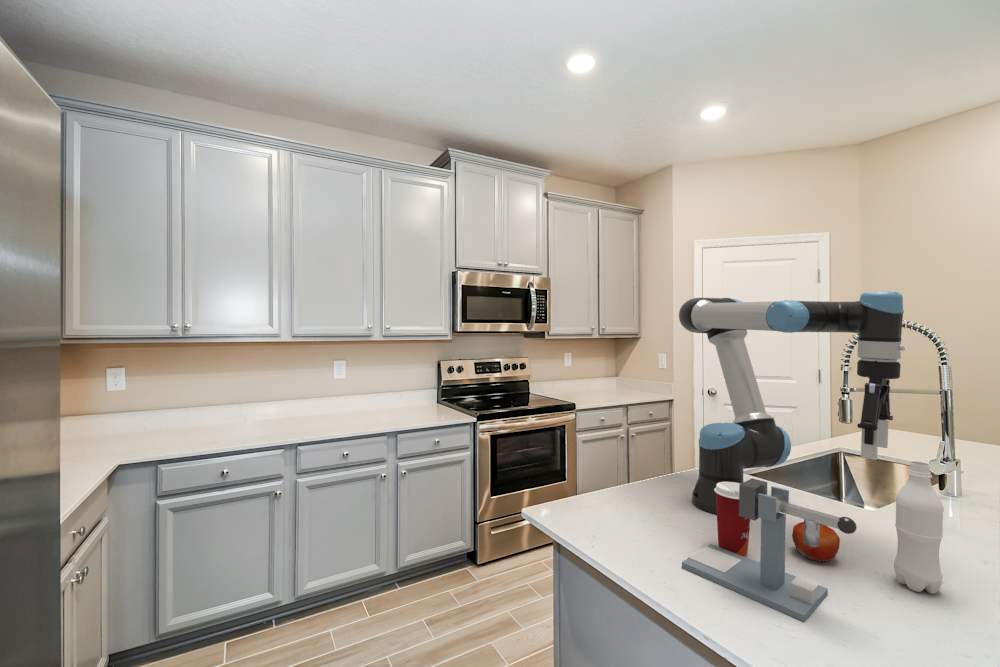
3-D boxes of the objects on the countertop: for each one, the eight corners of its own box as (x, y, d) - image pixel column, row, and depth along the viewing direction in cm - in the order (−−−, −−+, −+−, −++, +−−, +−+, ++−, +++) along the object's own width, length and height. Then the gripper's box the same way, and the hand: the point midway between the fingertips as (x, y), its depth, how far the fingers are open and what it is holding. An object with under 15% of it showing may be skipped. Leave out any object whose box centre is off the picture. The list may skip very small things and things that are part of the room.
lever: (738, 526, 92) (739, 484, 92) (751, 518, 96) (751, 478, 96) (850, 564, 78) (851, 514, 78) (860, 553, 81) (861, 505, 81)
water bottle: (884, 577, 94) (886, 458, 94) (915, 575, 95) (918, 457, 95) (918, 598, 87) (921, 469, 87) (952, 596, 88) (955, 468, 87)
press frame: (681, 567, 98) (683, 478, 98) (710, 549, 106) (711, 466, 106) (804, 622, 80) (806, 512, 80) (827, 594, 88) (829, 495, 88)
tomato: (826, 571, 97) (826, 534, 97) (782, 551, 105) (783, 517, 105) (849, 560, 101) (849, 525, 101) (805, 543, 109) (806, 510, 109)
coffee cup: (758, 561, 101) (759, 494, 100) (718, 557, 102) (719, 491, 102) (745, 543, 109) (746, 481, 109) (709, 540, 111) (710, 479, 110)
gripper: (891, 365, 91) (886, 468, 92) (908, 358, 108) (904, 445, 109) (845, 361, 97) (841, 459, 98) (868, 355, 114) (864, 439, 115)
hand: (874, 452), depth 103 cm, fingers open, 13 cm apart
